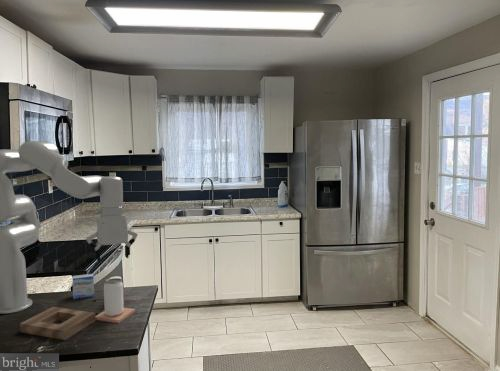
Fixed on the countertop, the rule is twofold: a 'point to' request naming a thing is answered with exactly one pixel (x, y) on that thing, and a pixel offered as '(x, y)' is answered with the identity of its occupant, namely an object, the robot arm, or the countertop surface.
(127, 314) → the tile
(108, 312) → the can
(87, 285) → the medicine box
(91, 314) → the well board
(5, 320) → the countertop surface
